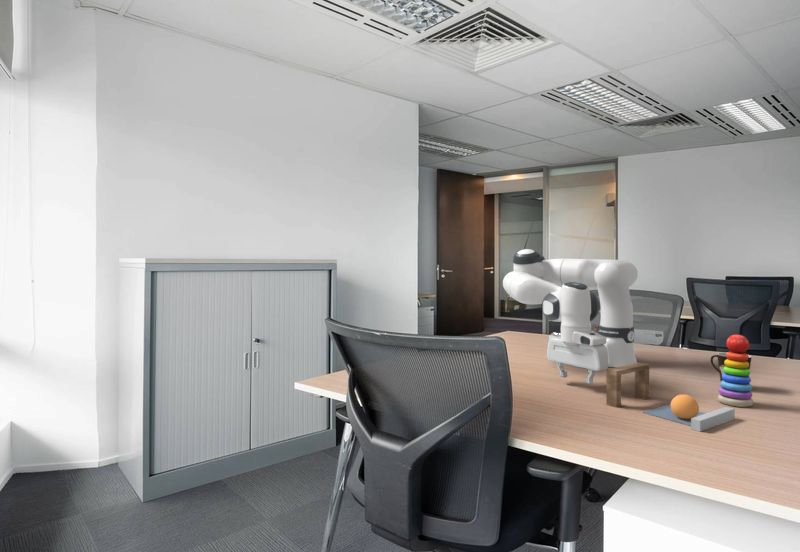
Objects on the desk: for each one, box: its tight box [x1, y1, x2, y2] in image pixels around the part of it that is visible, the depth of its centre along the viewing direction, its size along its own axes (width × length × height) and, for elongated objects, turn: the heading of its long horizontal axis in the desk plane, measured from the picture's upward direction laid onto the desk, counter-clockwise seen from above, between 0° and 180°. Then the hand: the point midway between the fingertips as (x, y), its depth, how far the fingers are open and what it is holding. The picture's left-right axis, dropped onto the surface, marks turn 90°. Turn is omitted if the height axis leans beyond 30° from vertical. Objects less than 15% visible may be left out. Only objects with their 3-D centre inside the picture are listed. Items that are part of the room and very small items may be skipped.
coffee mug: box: [710, 351, 752, 382], centre depth 148 cm, size 12×9×10 cm
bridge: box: [605, 362, 650, 408], centre depth 134 cm, size 3×15×10 cm, turn 122°
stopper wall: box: [690, 406, 736, 432], centre depth 115 cm, size 2×16×2 cm, turn 121°
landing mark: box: [642, 403, 706, 427], centre depth 122 cm, size 12×12×1 cm
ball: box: [670, 393, 700, 420], centre depth 119 cm, size 6×6×6 cm
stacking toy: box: [717, 334, 754, 408], centre depth 131 cm, size 8×8×19 cm
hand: (575, 380), depth 149 cm, fingers open, 8 cm apart
